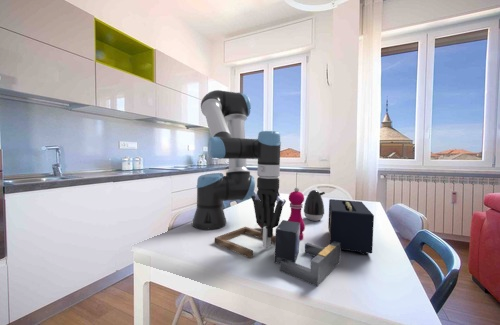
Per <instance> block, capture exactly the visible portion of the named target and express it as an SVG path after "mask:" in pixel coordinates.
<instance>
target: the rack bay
mask: <svg viewBox="0 0 500 325" xmlns="http://www.w3.org/2000/svg"><path fill="white" fill-rule="evenodd" d="M340 247H341V243H339V242H335V241H334V242H333V243H331V244H330V243H329V244H328V245H327V246H326V247H323V246H319V245H316V244H313V243H309V242H306V243H304V253H305V254H307V255H309V256H310V255H311V256H313V258H312V259H311V260H310V268H309V267H307V266H304V265H301V264H299V263H296V262H295V263H294V262H291V261H288V260H286V259H282V260H280V264H279V265H280V266H279V271H280V272H281V273H284V274H286V275H289V276H291V277H294V278H295V279H298V280H301V281H303V282H305V283H308V284H310V285H313V286H315V287H319V286H320V284H322V282H323V281H324V280H326V278H327V277H328V276H330V274H331V272H332V271H333V270H334V269H335V268H336V267H337V266H338V265H339V264H340V262H341V249H340Z"/></svg>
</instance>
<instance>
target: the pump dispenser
mask: <svg viewBox="0 0 500 325" xmlns="http://www.w3.org/2000/svg"><path fill="white" fill-rule="evenodd" d="M325 194H326V192H325V191H322V192H320V191H318V190H316V189H311V190H310V191H309V192H308V195H307V196H306V198H305V200H304V201H305V202H304V204H303V214H304V216H305V218H306V219H307V220H309V221H314V222H318V221H321V220H322V219H323V217H324V215H325V205H324V200H323V198H322V196H323V195H325Z"/></svg>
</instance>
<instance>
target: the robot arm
mask: <svg viewBox="0 0 500 325" xmlns="http://www.w3.org/2000/svg"><path fill="white" fill-rule="evenodd" d="M251 104H252V103H251V100H250V97H249V96H248V95H247V94H246V93H241V92H234V91H233V92H232V91H228V90H227V91H225V90H219V89H217V90H212V91H209V92H208V93H206V94H205V95H204V97H202V100H201V102H200V109H201V110H200V111H201V113H202V115H204V117H205V119H206V123H207V127H208V131H209V134H210V137H209V138H208V141H207V154H208V156H209V158H211V159H219V160H221V159H227V160H228V170H227V171H226V172H225V175H224V174H223V173H222V172H212V173H205V174H202V175H200V176H198V178H197V180H196V181H197V182H196V210H195V213H194V216H193V218H192V227H193V228H195V229H199V230H217V229H221V228H223V227H225V226H226V225H227V218H226V216H225V215H226V214H225V211H224V207H223V202H230V201H231V202H232V201H245V200H250V199H251V200H252V203H253V209H254V214H255V222H256V224H257V225H258V224H260V225H261V227H260V230H261V235H262V236H263V239H262V247H264V248H268V247H270V246H271V245H272V244H271V243H272V242H271V237H272V236H273V235H274V233H273V232H274V228H277V227H278V226H279V224H280V221H281V220H280V219H281V216H282V212H283V207H284V205H285V204H286V199H283V198H281V197H280V196H281V195H280V192H279V190H280V175H281V174H280V173H281V170H280V167H281V164H280V163H281V147H282V146H281V145H282V142H281V133H280V132H278V131H274V130H262V131H259V132H258V136H257V138H246V130H245V121H246V120H248V117H249V116H250V114H251V108H252V107H251V106H252V105H251ZM247 160H257V171H256V172H257V173H256V174H257V176H258V177H257V179H256V180H255V177H254V176H253V175H251V172H250V170H249V169H248V168H247ZM255 188H257V191H256V194H254V192H255ZM253 194H254V195H253Z"/></svg>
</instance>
